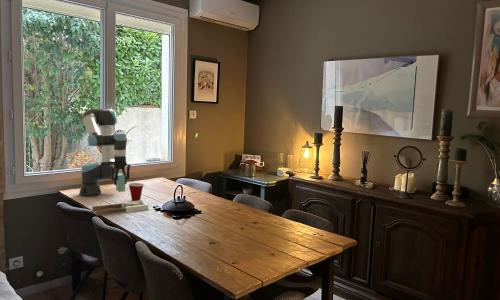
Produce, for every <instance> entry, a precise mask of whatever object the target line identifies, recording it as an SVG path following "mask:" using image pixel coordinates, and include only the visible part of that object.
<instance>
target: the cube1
mask: <svg viewBox="0 0 500 300" xmlns="http://www.w3.org/2000/svg"><path fill="white" fill-rule="evenodd" d="M125 202H126V203H125V207H129V206H132V203H131V202H132V201H125ZM125 207H124V208H125Z"/></svg>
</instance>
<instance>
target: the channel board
mask: <svg viewBox="0 0 500 300" xmlns="http://www.w3.org/2000/svg"><path fill="white" fill-rule="evenodd" d="M121 203H122V202H121ZM121 203H114V204H113V203H112V204H105V205H94V206H92V212H95V216H97V217H98V216H106V215H112V214H121V213H127V212H126V208H125V207H122V204H121Z"/></svg>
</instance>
